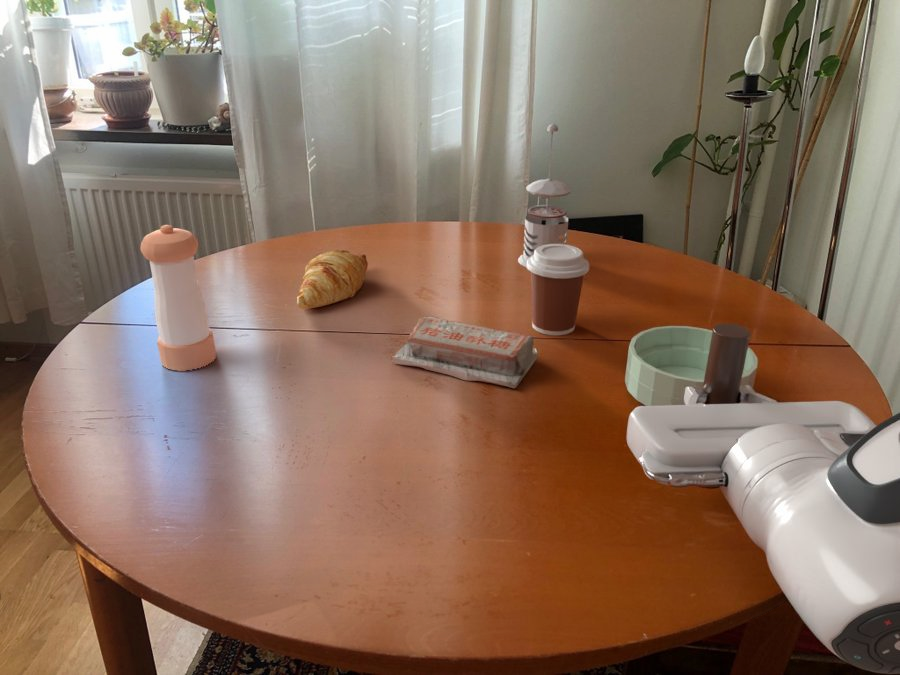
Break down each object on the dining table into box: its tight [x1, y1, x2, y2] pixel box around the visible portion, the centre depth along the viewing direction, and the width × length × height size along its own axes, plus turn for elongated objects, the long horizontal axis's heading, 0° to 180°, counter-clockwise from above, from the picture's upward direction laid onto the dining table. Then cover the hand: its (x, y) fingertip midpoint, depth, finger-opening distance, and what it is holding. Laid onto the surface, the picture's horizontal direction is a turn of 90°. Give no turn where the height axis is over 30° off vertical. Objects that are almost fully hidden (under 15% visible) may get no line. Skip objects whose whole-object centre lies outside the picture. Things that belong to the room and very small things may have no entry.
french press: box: [517, 123, 573, 268], centre depth 134 cm, size 10×12×25 cm
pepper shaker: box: [139, 224, 217, 372], centre depth 98 cm, size 7×7×19 cm
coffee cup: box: [526, 243, 590, 336], centre depth 110 cm, size 9×9×12 cm
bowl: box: [624, 325, 759, 406], centre depth 93 cm, size 15×15×6 cm
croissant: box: [296, 250, 369, 310], centre depth 124 cm, size 21×10×8 cm, turn 160°
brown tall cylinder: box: [697, 322, 752, 490], centre depth 70 cm, size 4×4×16 cm
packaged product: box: [391, 316, 539, 389], centre depth 101 cm, size 18×5×10 cm
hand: (715, 392), depth 71 cm, fingers closed on brown tall cylinder, 3 cm apart
